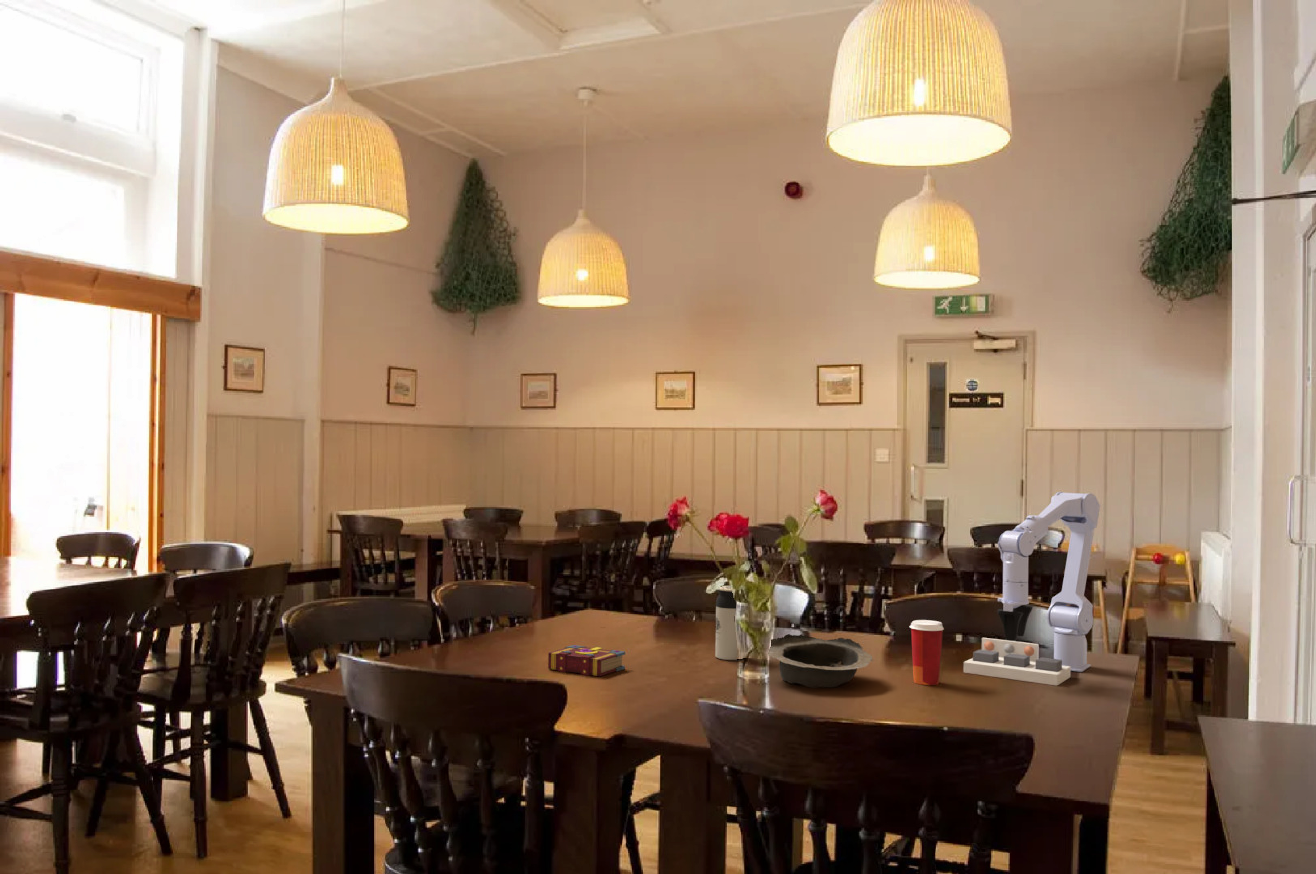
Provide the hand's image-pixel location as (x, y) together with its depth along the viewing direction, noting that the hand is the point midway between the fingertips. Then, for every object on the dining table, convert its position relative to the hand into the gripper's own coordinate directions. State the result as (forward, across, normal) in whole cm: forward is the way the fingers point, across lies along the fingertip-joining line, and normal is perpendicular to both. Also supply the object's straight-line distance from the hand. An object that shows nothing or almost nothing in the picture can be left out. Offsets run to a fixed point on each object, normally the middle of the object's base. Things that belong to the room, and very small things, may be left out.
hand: (1014, 638), depth 245 cm
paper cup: (+10, +19, -16) cm, 26 cm away
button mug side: (+8, -4, -8) cm, 12 cm away
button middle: (+8, -3, 0) cm, 9 cm away
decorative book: (+10, +55, -87) cm, 104 cm away
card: (+9, -15, -5) cm, 18 cm away
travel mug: (+10, +21, -66) cm, 70 cm away
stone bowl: (+10, +33, -36) cm, 50 cm away
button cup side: (+8, -3, +7) cm, 11 cm away
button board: (+9, -3, 0) cm, 10 cm away
